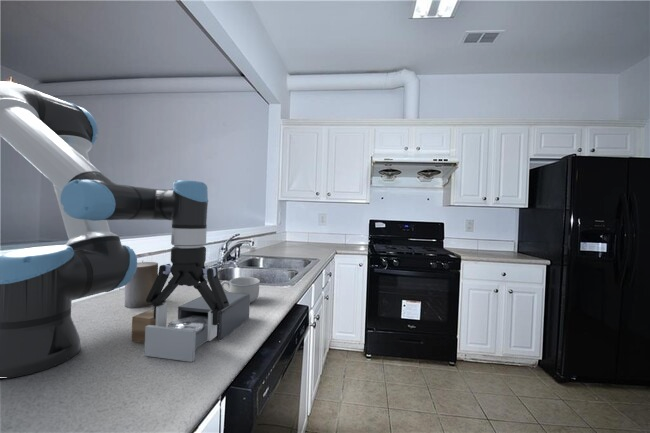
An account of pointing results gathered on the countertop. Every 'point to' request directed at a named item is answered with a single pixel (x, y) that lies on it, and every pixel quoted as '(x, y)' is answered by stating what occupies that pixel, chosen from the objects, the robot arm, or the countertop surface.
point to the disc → (189, 324)
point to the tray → (174, 341)
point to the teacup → (244, 286)
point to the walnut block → (142, 325)
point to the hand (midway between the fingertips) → (186, 335)
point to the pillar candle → (141, 285)
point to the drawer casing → (229, 315)
